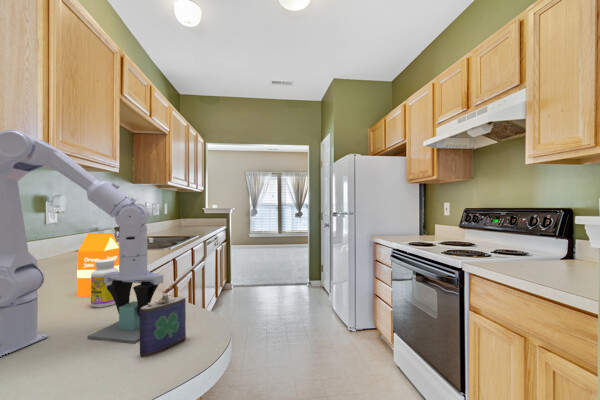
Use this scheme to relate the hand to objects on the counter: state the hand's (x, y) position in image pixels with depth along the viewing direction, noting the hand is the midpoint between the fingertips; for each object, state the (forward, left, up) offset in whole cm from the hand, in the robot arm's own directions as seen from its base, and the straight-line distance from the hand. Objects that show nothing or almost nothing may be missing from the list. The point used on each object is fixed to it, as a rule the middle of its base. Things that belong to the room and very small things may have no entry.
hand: (133, 313), depth 65 cm
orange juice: (+22, +34, -4) cm, 41 cm away
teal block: (0, 0, -3) cm, 3 cm away
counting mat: (0, 0, -3) cm, 3 cm away
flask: (-6, -13, -4) cm, 15 cm away
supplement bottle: (+13, +22, -4) cm, 26 cm away
